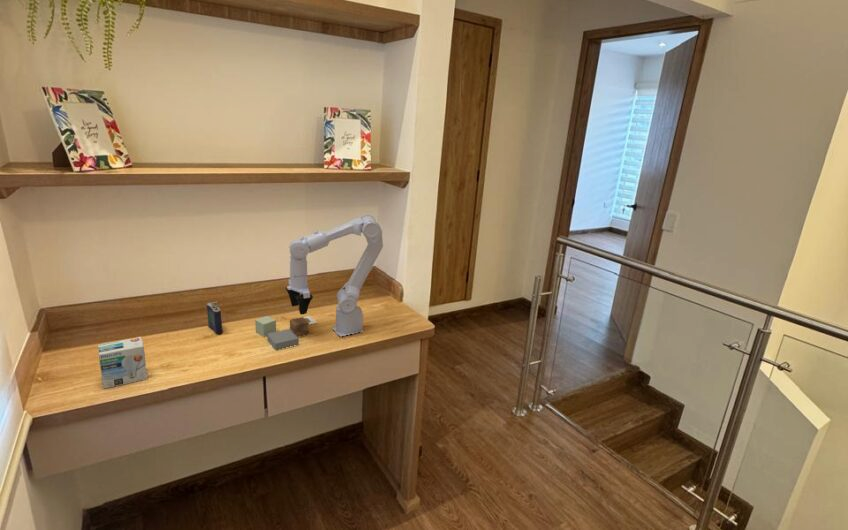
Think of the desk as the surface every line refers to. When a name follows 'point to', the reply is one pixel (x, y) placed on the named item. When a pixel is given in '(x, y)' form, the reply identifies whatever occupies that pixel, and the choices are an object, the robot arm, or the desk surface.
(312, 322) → the placard
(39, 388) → the desk surface
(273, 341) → the slate slab
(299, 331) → the walnut block
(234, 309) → the desk surface
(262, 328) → the sage block
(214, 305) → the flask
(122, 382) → the light bulb box
